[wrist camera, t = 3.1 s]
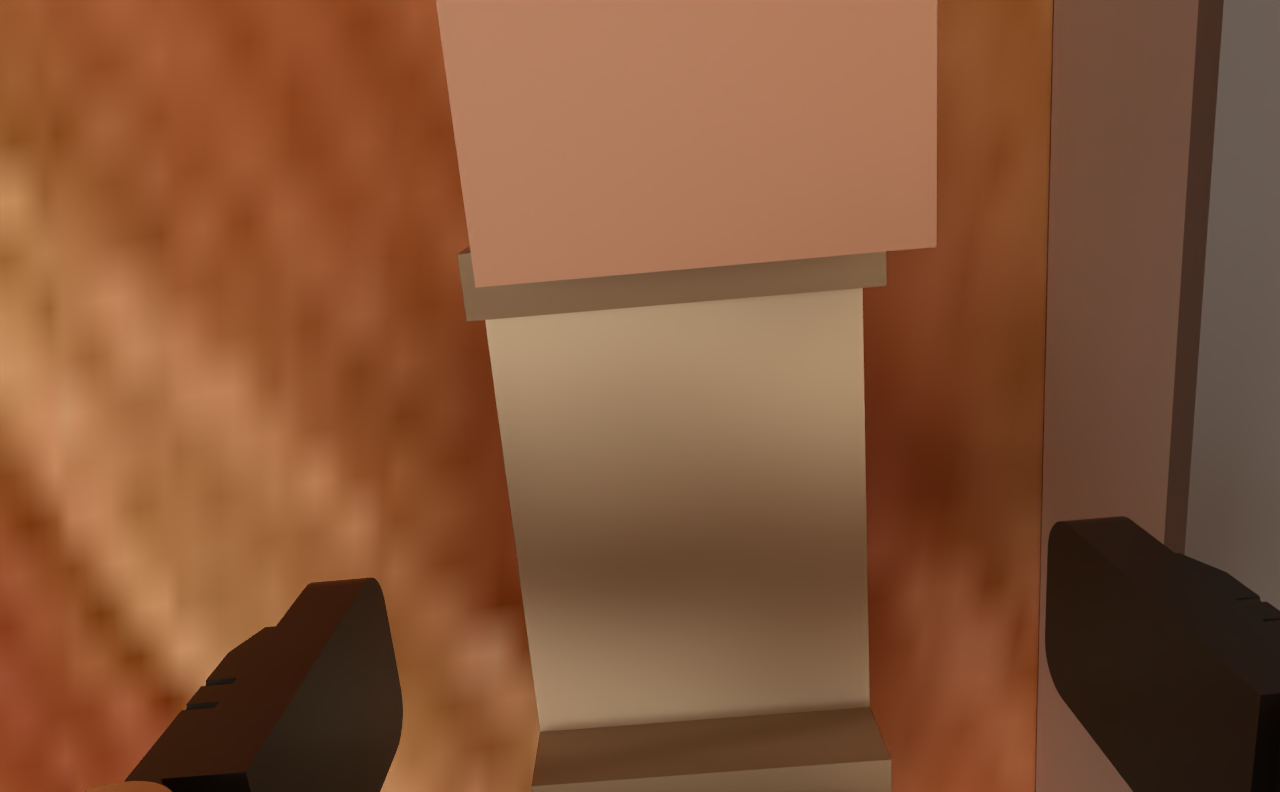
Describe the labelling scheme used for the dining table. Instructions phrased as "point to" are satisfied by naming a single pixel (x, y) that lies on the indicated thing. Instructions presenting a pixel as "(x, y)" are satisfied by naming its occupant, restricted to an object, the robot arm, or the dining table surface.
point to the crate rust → (689, 132)
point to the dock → (1161, 301)
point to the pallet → (692, 523)
